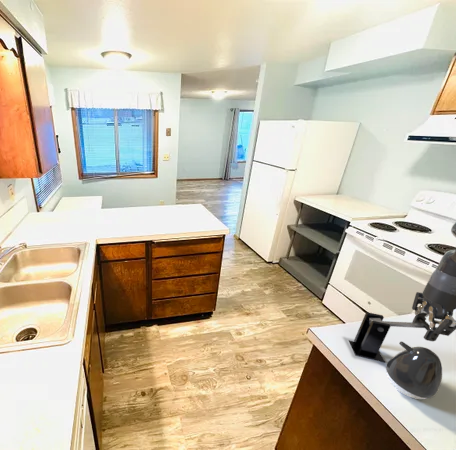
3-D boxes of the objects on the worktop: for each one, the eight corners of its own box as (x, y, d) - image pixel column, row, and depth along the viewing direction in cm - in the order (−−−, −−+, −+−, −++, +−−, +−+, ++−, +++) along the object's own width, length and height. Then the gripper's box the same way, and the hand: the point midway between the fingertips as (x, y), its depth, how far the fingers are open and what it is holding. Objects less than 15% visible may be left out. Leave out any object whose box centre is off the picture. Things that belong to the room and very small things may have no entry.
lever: (423, 323, 74) (424, 316, 74) (434, 335, 70) (435, 328, 69) (366, 320, 79) (367, 314, 79) (374, 331, 75) (374, 325, 74)
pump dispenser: (381, 362, 76) (402, 328, 69) (428, 386, 69) (457, 351, 63) (377, 385, 69) (400, 351, 63) (429, 414, 63) (460, 379, 56)
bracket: (372, 344, 83) (386, 313, 78) (384, 364, 76) (401, 331, 71) (345, 338, 85) (357, 307, 80) (354, 357, 78) (368, 324, 73)
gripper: (489, 306, 59) (456, 355, 66) (446, 275, 72) (422, 319, 78) (450, 299, 62) (422, 347, 68) (414, 271, 74) (393, 314, 80)
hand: (422, 332), depth 73 cm, fingers closed on lever, 5 cm apart
